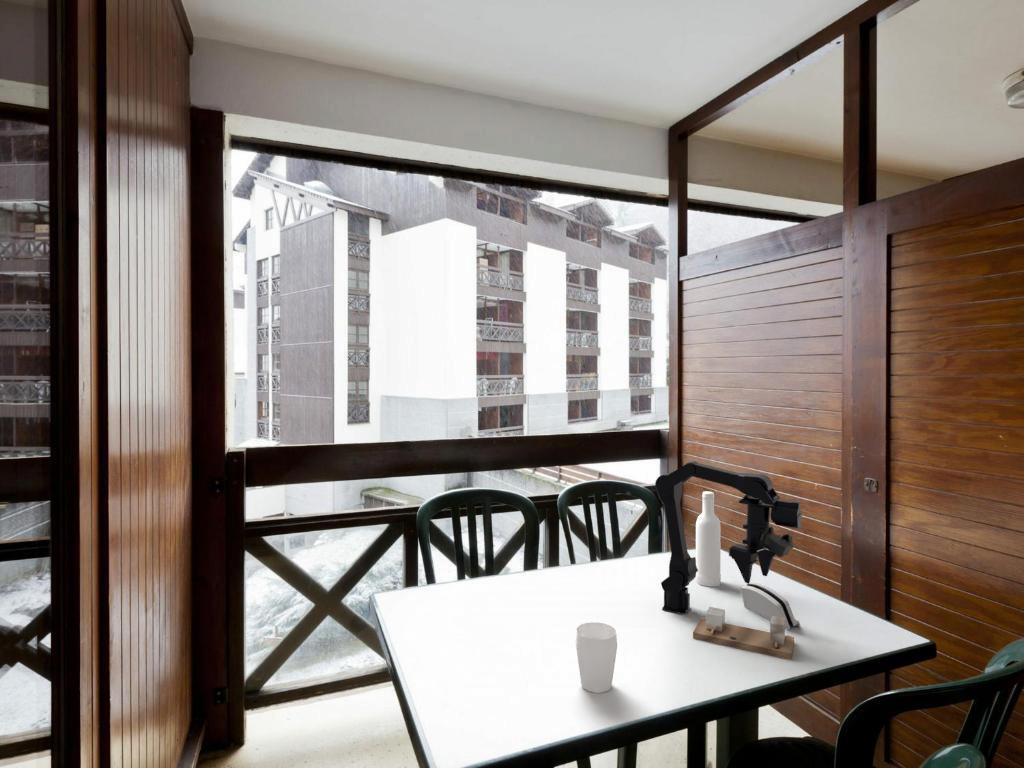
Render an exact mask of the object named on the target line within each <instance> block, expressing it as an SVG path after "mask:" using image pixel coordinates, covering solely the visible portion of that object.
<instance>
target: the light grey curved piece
mask: <svg viewBox="0 0 1024 768" xmlns="http://www.w3.org/2000/svg"><path fill="white" fill-rule="evenodd" d="M740 591H741V592H740V593H741V597H742V602H743V607H744V608H746V609H748V610H749V611H751V612H753V613H754V614H757V615H758V616H760V617H762V618H764V619H765V620H768V621H769V622H771V618H772V616H777V617H782V618H785V631H788V630H790V629H791V626H792V627H798V628H801V627H802V626H801V623H800V620H798V619H796V618H795V616H794V613H793V611H792V608H791V606H790V603H789V601H788V600H787V599H786V598H785V597H784V596H782V594H780V593H778V592H777V591H776V590H774V589H772V588H770V587H769V586H766V585H765V584H762V583H760V582H759V583H758V582H750V583H746V585H743V586H742V587H740Z"/></svg>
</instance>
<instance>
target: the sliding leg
mask: <svg viewBox="0 0 1024 768" xmlns="http://www.w3.org/2000/svg"><path fill="white" fill-rule="evenodd" d="M705 619H706V629H710V630H711V634H713V632H714V630H715V631H720V632H722V630H723V628H724V626H725V623H726V609H723V608H717V607H714V606H713V607H712V606H709V607H708V608H707V610H706V611H705Z"/></svg>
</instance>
